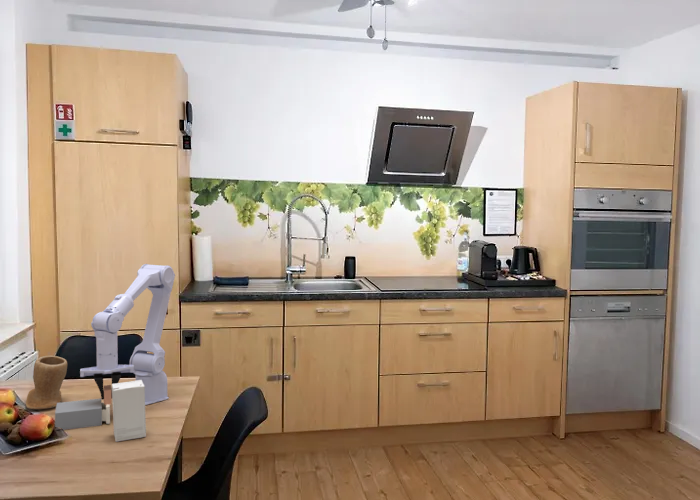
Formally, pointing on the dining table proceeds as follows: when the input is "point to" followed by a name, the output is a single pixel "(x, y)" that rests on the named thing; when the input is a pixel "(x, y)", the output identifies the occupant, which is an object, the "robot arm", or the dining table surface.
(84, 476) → the dining table surface
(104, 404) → the white pull-out drawer
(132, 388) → the skincare box
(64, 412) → the carton
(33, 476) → the dining table surface
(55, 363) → the stone cup
